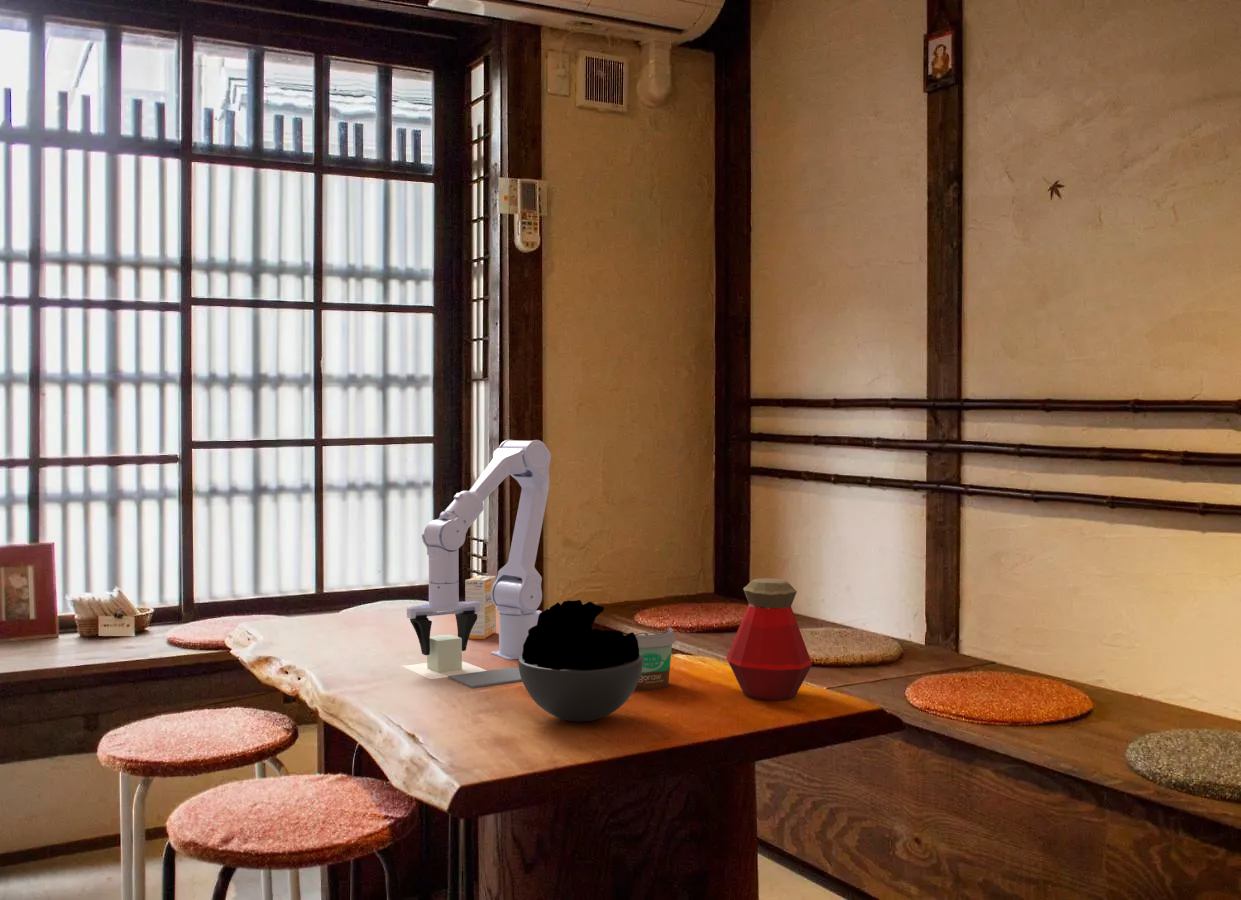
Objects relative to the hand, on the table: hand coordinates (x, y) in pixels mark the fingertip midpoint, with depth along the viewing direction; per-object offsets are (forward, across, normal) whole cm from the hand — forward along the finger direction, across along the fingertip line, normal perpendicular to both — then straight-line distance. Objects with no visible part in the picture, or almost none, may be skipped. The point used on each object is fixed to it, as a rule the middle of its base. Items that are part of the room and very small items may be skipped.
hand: (444, 652), depth 224 cm
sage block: (+3, 0, 0) cm, 3 cm away
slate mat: (+3, -4, +13) cm, 14 cm away
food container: (+3, -24, +35) cm, 43 cm away
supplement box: (+3, -22, -28) cm, 36 cm away
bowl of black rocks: (+4, -2, +47) cm, 47 cm away
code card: (+3, 0, 0) cm, 3 cm away
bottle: (+3, -38, +51) cm, 64 cm away
